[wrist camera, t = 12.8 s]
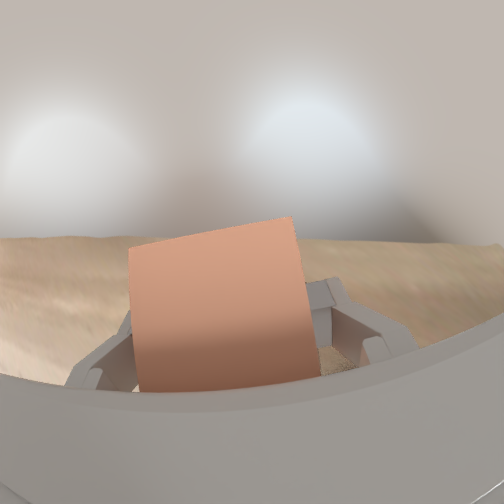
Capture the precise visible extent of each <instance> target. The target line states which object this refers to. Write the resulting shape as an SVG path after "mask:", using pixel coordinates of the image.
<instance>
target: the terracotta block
mask: <svg viewBox="0 0 504 504" xmlns="http://www.w3.org/2000/svg"><path fill="white" fill-rule="evenodd" d="M128 262H129V296H130V313H131V326H132V337H133V346H134V355H135V363H136V371H137V377H138V384H139V390H140V392H156V393H165V392H200V391H216V390H229V389H239V388H249V387H257V386H265V385H273V384H280V383H286V382H292V381H298V380H304V379H309V378H314V377H319V376H321V372H320V366H319V359H318V353H317V346H316V340H315V334H314V328H313V322H312V317H311V311H310V305H309V300H308V295H307V289H306V284H305V279H304V274H303V269H302V264H301V259H300V254H299V249H298V244H297V239H296V235H295V230H294V226H293V221H292V217H285V218H279V219H273V220H268V221H262V222H256V223H251V224H246V225H240V226H235V227H230V228H224V229H219V230H214V231H209V232H203V233H199V234H193V235H188V236H183V237H178V238H174V239H169V240H164V241H159V242H154V243H150V244H145V245H140V246H136V247H131V248H128Z"/></svg>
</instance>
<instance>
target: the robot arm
mask: <svg viewBox="0 0 504 504" xmlns="http://www.w3.org/2000/svg"><path fill="white" fill-rule="evenodd" d="M306 289H307V295H308V300H309V305H310V311H311V317H312V322H313V328H314V334H315V340H316V346H317V348H320V347H326V346H331V345H332V347H334V348H335V349H336V350H337V351H339V352H340V353H341V354H342V355H343V356H345V357H346V358H347V359H348V360H350V361H351V362H352V363H353V364H355V365H356V366H357V367H358V368H354V369H350V370H346V371H342V372H338V373H333V374H329V375H324V376H319V377H314V378H309V379H304V380H298V381H292V382H286V383H280V384H273V385H265V386H257V387H249V388H239V389H229V390H216V391H200V392H165V393H156V392H132V391H133V389H134V388H135V387H136V386H137V385H138V377H137V371H136V363H135V355H134V346H133V337H132V326H131V313H130V310H129V311H128V313H127V315H126V317H125V319H124V321H123V323H122V325H121V327H120V329H119V331H118V333H117V335H113V336H112V337H111V338H109V339H108V340H107V341H105V342H104V343H103V344H102V345H100V346H99V347H98V348H97V349H95V350H94V351H93V352H91V353H90V354H89V355H88V356H86V357H85V358H84V359H83V360H81V361H80V362H79V363H78V364H76V365H75V366H74V367H73V369H72V371H71V373H70V375H69V377H68V379H67V381H66V383H65V385H64V386H61V385H55V384H49V383H43V382H38V381H32V380H28V379H23V378H18V377H14V376H10V375H6V374H2V373H0V504H504V313H502V314H500V315H498V316H496V317H494V318H492V319H490V320H488V321H486V322H484V323H482V324H479V325H477V326H475V327H473V328H471V329H468V330H466V331H464V332H462V333H459V334H457V335H455V336H452V337H450V338H447V339H445V340H442V341H440V342H437V343H434V344H432V345H429V346H426V347H423V348H421V349H420V348H419V346H418V345H417V343H416V341H415V340H414V338H413V336H412V335H411V333H410V331H409V330H408V328H407V327H406V326H404V325H402V324H400V323H398V322H396V321H394V320H392V319H390V318H388V317H386V316H384V315H382V314H380V313H378V312H376V311H374V310H372V309H370V308H367V307H365V306H363V305H361V304H359V303H357V302H351V300H350V298H349V296H348V294H347V292H346V290H345V288H344V286H343V285H342V283H341V281H340V279H339V277H333V278H329V279H324V280H321V281H316V282H311V283H306Z"/></svg>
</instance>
